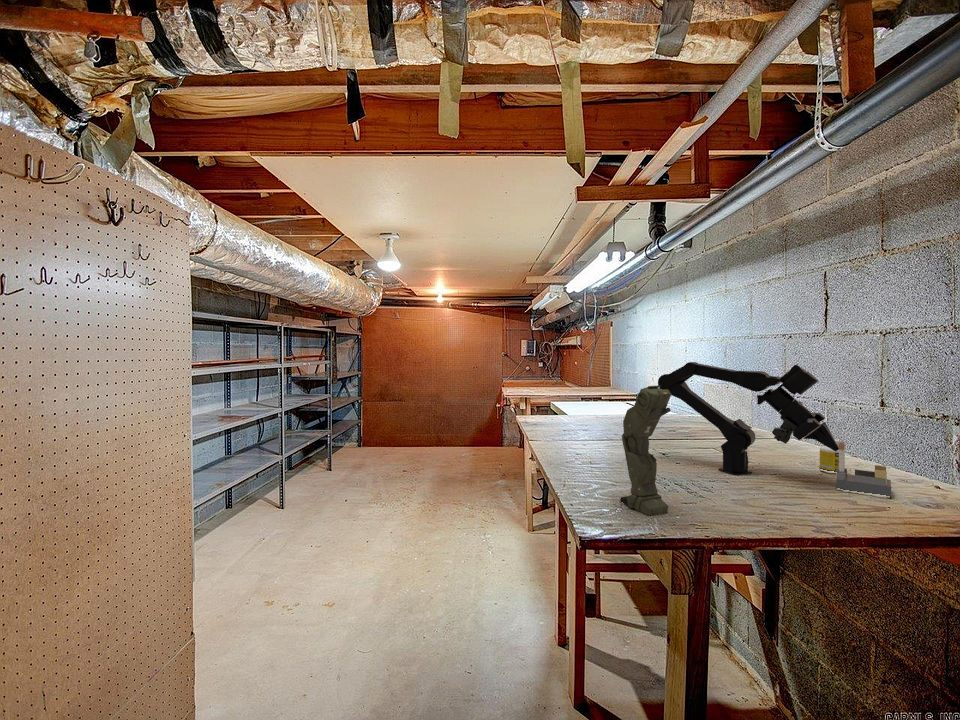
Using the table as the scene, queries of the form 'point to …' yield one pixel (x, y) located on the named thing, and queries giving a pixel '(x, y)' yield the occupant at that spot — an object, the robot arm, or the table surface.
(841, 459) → the beige flat panel
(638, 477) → the mechanical leg
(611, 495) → the table surface
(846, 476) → the grey tray
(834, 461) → the supplement bottle
